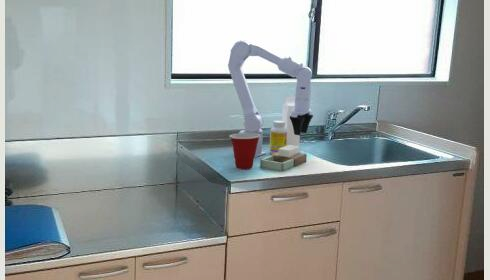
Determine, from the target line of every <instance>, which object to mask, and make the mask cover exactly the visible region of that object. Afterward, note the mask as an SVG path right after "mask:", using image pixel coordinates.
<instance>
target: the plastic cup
mask: <svg viewBox="0 0 490 280" xmlns="http://www.w3.org/2000/svg"><path fill="white" fill-rule="evenodd" d="M259 137H260V134H255V133H239V132H238V133H232V134H230V135H229V138H230V139H231V142H232V143H231V144H232V150H233V159H234V164H235V168H236V169H238V170H246V171H247V170H251V169H253V165H254V161H255V158H256V157H255V153H256V148H257V144H258V139H259Z"/></svg>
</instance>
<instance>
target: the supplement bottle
mask: <svg viewBox="0 0 490 280" xmlns="http://www.w3.org/2000/svg"><path fill="white" fill-rule="evenodd" d="M272 124H273V127H271V128H270V132H269V133H270V134H269V135H270V136H269V154H270V155H271V154H274V153H276V152H278V149H279V148H282V147H285V146H286V142H287V129H286V128H285V127H284V126H285V122H284V121H282V120H273V123H272Z"/></svg>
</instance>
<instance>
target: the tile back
mask: <svg viewBox="0 0 490 280" xmlns="http://www.w3.org/2000/svg"><path fill="white" fill-rule="evenodd" d="M285 147H288V148H294V149H295V153H294V155H296V154H298V153H301V152H300V151H301V146H300V145H299V146H293V145H287V146H285Z"/></svg>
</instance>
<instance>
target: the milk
mask: <svg viewBox="0 0 490 280" xmlns="http://www.w3.org/2000/svg"><path fill="white" fill-rule="evenodd" d="M294 109H295V96H286V97H285V100H284V102H283V103H282V114H281V115H282V116H281V117H282V118H281V121H284V122H285V126H284V127H285V128H286V129H287V142H286V146H287V145H293V146H300V140H301V134H300V135H294V130H293V125H292V122H291V120H290V116H291V113H292V112H293V110H294Z"/></svg>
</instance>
